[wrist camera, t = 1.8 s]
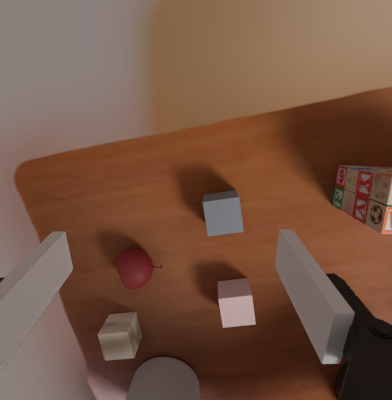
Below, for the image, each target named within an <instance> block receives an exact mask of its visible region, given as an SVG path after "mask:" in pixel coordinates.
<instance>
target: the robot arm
mask: <svg viewBox="0 0 392 400" xmlns="http://www.w3.org/2000/svg"><path fill="white" fill-rule="evenodd" d="M275 269H276V271H277V273H278V275H279V277H280V279H281V281H282V283H283V285H284V287H285V289H286V291H287V293H288V295H289V297H290V299H291V302H292V304H293V306H294V308H295V310H296V312H297V314H298V316H299V318H300V320H301V322H302V324H303V326H304V328H305V330H306V332H307V334H308V336H309V339H310V341H311V343H312V345H313V347H314V349H315V351H316V353H317V355H318V357H319V359H320V361H321V363H322V364H340V362H341V359H342V356H343V354H344V356H345V357H346V359H347V361H348V362H347V363H346V364H345V365H344V367H343V368H342V369H341V371H340V373H339V375H338V377H337V381H336V392H337V396H338V400H392V325H391V324H389V323H387V322H385V321H383V320H380V319H377V318H375V317H374V316H373V315H372V314H371V312H370V311H369V310H368V309H367V308H366V306H365V305H364V304H363V303H362V302H361V300H360V299H359V298H358V297H357V296H356V295H355V293H354V292H353V291H352V289H350V287H349V286H348V285H347V283H346V282H345V281H344V280H343V279H341V278H340V277H338V276H337V275H336V274H325V273H324V271H323V270H322V269H321V267H320V266H319V265H318V263H317V262H316V261H315V259H314V258H313V257H312V255H311V254H310V253H309V252H308V250H307V249H306V248H305V246H304V245H303V244H302V242H301V241H300V240H299V238H298V237H297V236H296V234H295V233H294V232H293V230H280V232H279V239H278V246H277V254H276V261H275ZM72 270H73V265H72V261H71V256H70V251H69V247H68V242H67V237H66V232H52V233H51V234H50V235H49V236H48V237H47V238H46V239H45V240H44V241H42V242H41V243H40V244H39V245H38V247H36V248H35V249H34V250H33V251H32V252H31V253H30V254H29V255H28V256H27V257H26V258H25V259H24V260H23V261H22V262H21V263H20V264H19V265H18V266H17V267H16V268H15V269H14V270H13V271H12V272H11V273H10V274H9V275H8V276H7V277H6V278H0V369H5V368H6V366H7V365H8V364H9V362H10V360H11V359H12V358H13V356H14V355H15V353H16V352H17V350H18V349H19V348H20V346H21V345H22V343H23V342H24V340H25V338H26V337H27V336H28V334H29V333H30V331H31V330H32V329H33V327H34V326H35V324H36V323H37V321H38V320H39V318H40V317H41V315H42V314H43V313H44V311H45V310H46V308H47V307H48V305H49V304H50V302H51V301H52V299H53V298H54V296H55V295H56V294H57V292H58V291H59V289H60V288H61V286H62V285H63V283H64V282H65V280H66V279H67V278H68V276H69V275H70V273H71V272H72Z"/></svg>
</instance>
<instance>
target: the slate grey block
mask: <svg viewBox="0 0 392 400" xmlns="http://www.w3.org/2000/svg"><path fill="white" fill-rule="evenodd" d="M203 208H204V214H205V221H206V227H207V233H208V236H215V235H223V234H230V233H238V232H244V230H243V223H242V215H241V207H240V200H239V196H238V193H237V191H236V190H233V191H226V192H219V193H212V194H206V195H204V196H203Z"/></svg>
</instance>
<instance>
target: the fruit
mask: <svg viewBox="0 0 392 400" xmlns="http://www.w3.org/2000/svg"><path fill="white" fill-rule="evenodd" d="M115 264H116V267H117V269H118V272H119V274H120V277H121V279H122V281H123V283H124V286H125V288H128V289H136V288H139V287H142V286H143V285H145V284H146V283H147V282H148V281H149V279H150V278H151V275H152V272H153V267H156V266H153V264H152V260H151V258H150V257H149V255H148V254H147V253H145V252H144V251H142V250H139V249H130V250H127V251H124V252H123V253H121V254H120V255H119V256H118V257H117V259H116V261H115ZM157 268H159V267H157ZM160 268H163V266H160Z"/></svg>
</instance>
